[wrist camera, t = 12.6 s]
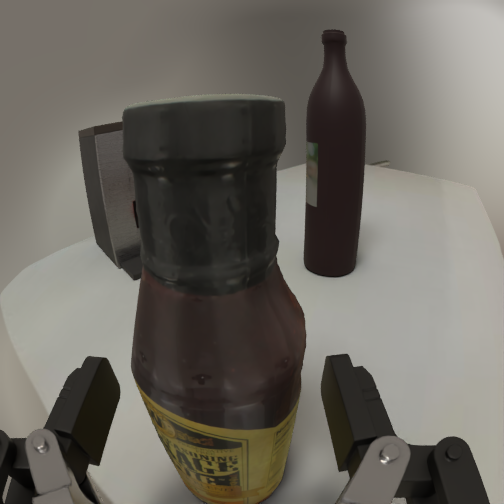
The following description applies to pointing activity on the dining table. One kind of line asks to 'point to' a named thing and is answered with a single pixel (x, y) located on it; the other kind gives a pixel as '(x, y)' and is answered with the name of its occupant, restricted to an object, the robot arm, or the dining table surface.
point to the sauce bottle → (214, 291)
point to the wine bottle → (334, 164)
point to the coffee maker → (111, 196)
